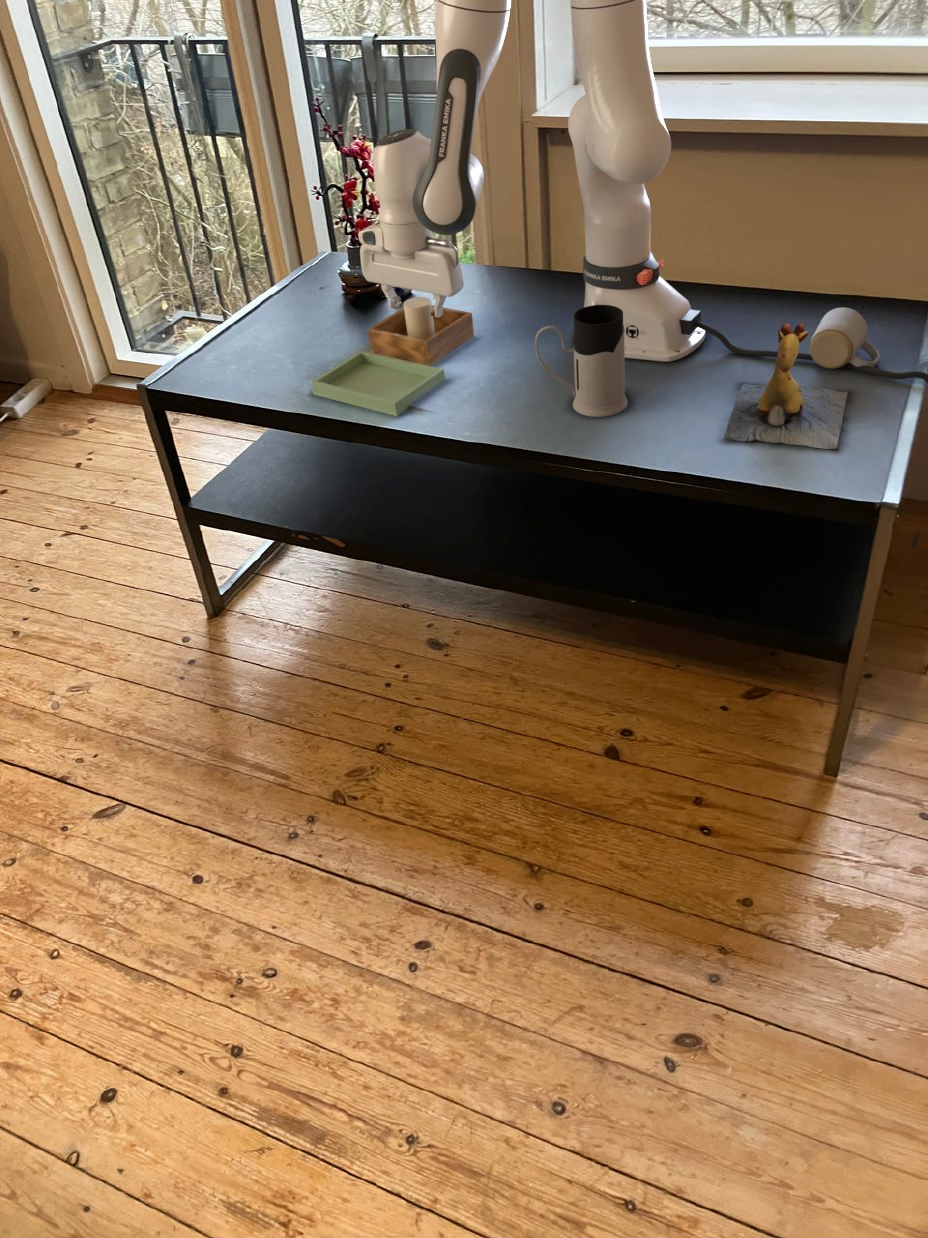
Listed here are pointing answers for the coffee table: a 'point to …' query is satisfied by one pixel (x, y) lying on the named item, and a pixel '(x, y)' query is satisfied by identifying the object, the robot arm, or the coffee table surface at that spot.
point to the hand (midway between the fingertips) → (416, 311)
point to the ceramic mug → (841, 340)
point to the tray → (377, 382)
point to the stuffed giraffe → (787, 405)
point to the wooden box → (397, 344)
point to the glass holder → (596, 360)
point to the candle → (419, 318)
